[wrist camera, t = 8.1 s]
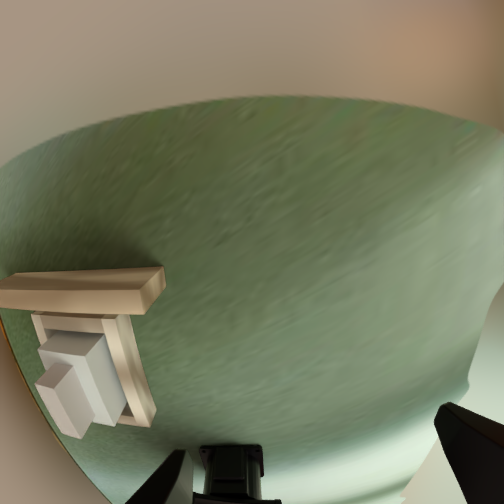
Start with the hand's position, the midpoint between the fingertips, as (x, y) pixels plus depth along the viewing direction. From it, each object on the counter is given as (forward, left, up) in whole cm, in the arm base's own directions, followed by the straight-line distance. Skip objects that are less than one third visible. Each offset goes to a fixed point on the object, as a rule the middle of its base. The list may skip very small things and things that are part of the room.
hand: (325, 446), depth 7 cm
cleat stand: (-4, +16, -13) cm, 21 cm away
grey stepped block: (-5, +16, -13) cm, 22 cm away
